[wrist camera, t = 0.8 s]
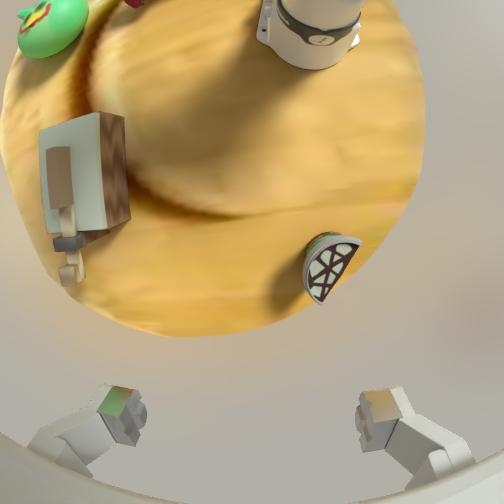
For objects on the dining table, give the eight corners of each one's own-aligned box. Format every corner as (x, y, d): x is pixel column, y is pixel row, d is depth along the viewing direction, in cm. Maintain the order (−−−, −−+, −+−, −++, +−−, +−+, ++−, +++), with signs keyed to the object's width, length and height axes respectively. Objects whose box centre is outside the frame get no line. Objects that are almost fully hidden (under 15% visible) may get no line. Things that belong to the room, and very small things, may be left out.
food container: (319, 211, 50) (331, 222, 40) (347, 228, 50) (364, 243, 41) (285, 269, 53) (288, 292, 44) (313, 283, 54) (321, 308, 44)
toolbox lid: (46, 131, 40) (24, 130, 34) (102, 113, 39) (81, 109, 33) (54, 230, 45) (33, 239, 40) (110, 226, 45) (90, 235, 39)
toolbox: (69, 131, 47) (27, 129, 35) (124, 117, 46) (84, 107, 34) (78, 234, 54) (39, 253, 41) (132, 231, 53) (96, 251, 40)
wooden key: (63, 205, 41) (47, 210, 37) (73, 204, 41) (57, 209, 37) (75, 276, 45) (62, 286, 41) (85, 276, 45) (72, 286, 41)
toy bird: (42, 75, 43) (0, 66, 29) (43, 26, 38) (7, 12, 24) (101, 37, 41) (63, 15, 27) (99, -10, 36) (67, -35, 22)
